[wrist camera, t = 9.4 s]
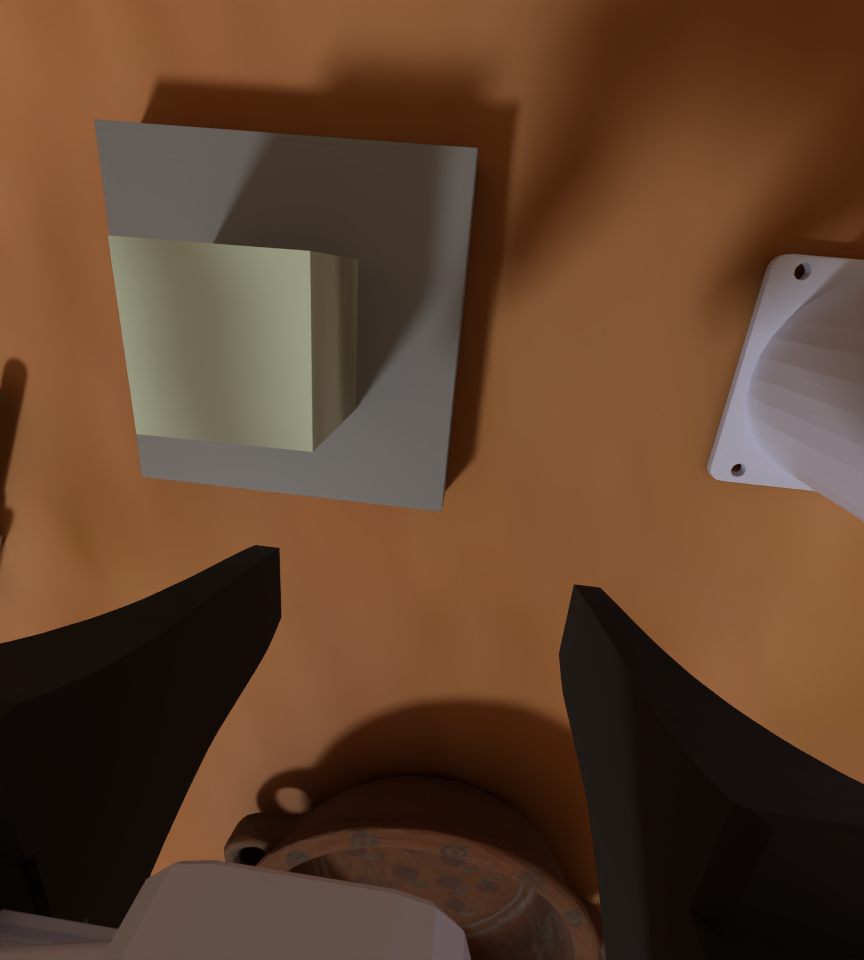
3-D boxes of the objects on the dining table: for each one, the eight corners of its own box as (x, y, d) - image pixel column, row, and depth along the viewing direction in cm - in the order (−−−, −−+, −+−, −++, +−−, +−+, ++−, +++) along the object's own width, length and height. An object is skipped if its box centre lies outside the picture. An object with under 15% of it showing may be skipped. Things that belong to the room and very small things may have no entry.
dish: (266, 689, 27) (220, 775, 22) (669, 803, 27) (707, 911, 22) (229, 888, 33) (188, 986, 29) (554, 979, 33) (565, 1091, 29)
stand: (478, 162, 17) (477, 148, 15) (445, 491, 22) (441, 511, 20) (134, 136, 18) (94, 119, 16) (170, 460, 22) (142, 476, 20)
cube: (358, 259, 17) (310, 251, 12) (355, 409, 19) (312, 452, 14) (210, 248, 17) (107, 235, 12) (222, 396, 19) (136, 433, 14)
